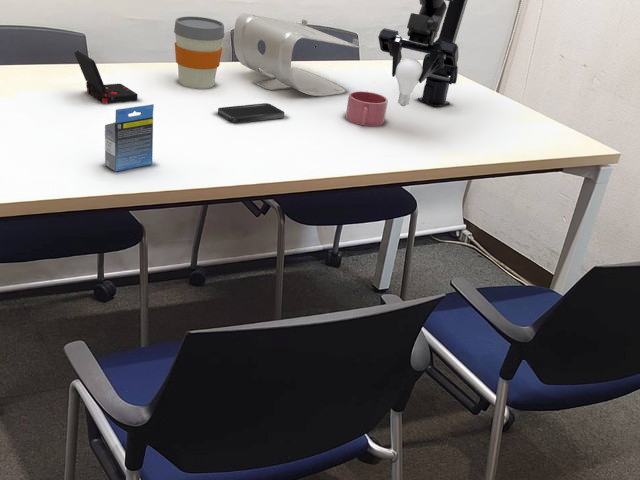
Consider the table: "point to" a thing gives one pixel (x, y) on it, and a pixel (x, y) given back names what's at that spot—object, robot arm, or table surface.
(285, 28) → the beige plastic curved shell
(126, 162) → the blue upright rectangular box
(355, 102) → the mug
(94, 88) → the handheld gaming console
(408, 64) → the lightbulb
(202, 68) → the reusable coffee cup
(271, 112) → the phone
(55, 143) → the table surface
